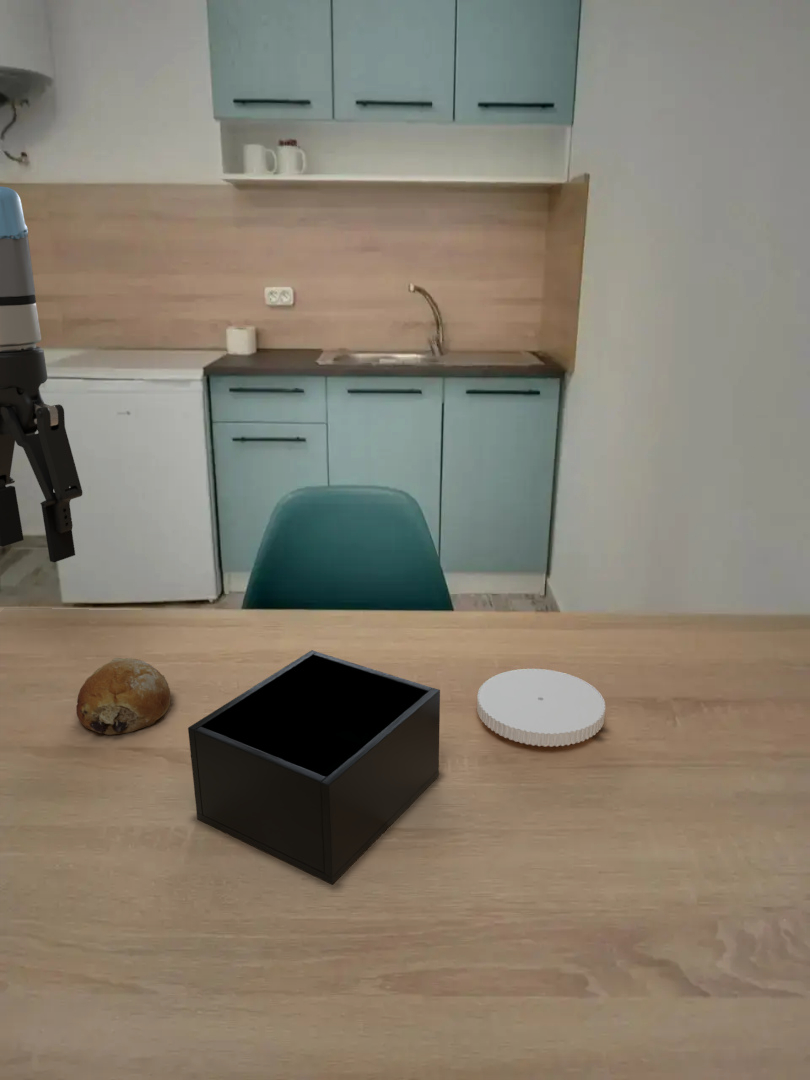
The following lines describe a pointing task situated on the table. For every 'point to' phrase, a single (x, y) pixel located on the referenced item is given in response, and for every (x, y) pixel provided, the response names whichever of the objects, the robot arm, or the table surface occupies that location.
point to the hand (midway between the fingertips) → (36, 550)
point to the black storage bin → (316, 761)
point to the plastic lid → (541, 707)
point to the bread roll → (123, 697)
